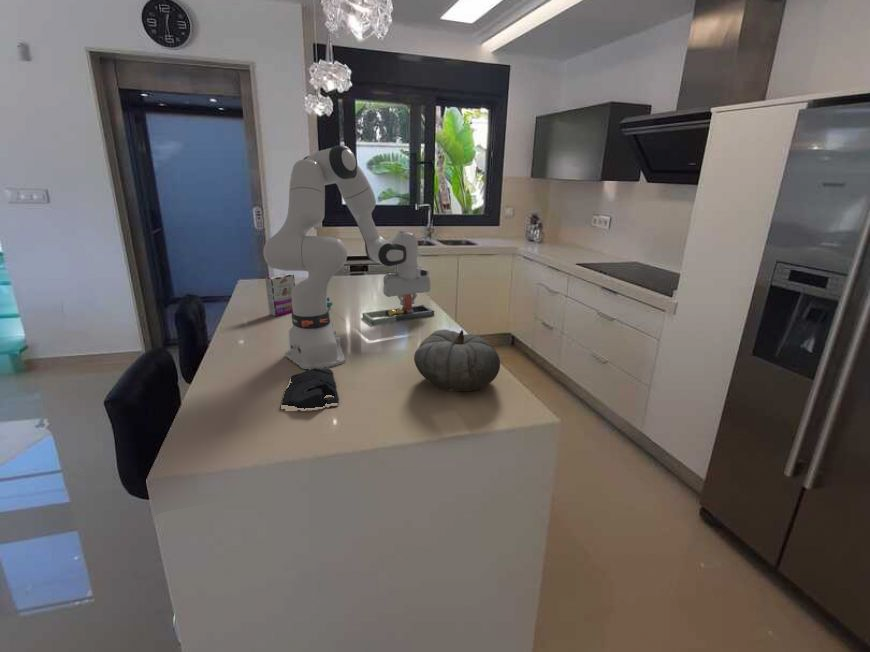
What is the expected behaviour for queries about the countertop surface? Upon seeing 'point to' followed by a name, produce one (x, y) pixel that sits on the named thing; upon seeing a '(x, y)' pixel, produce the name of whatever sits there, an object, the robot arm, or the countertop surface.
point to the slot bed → (414, 313)
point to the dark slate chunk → (311, 389)
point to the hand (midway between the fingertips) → (407, 304)
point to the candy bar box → (280, 293)
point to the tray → (372, 321)
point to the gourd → (457, 361)
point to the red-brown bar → (407, 304)
